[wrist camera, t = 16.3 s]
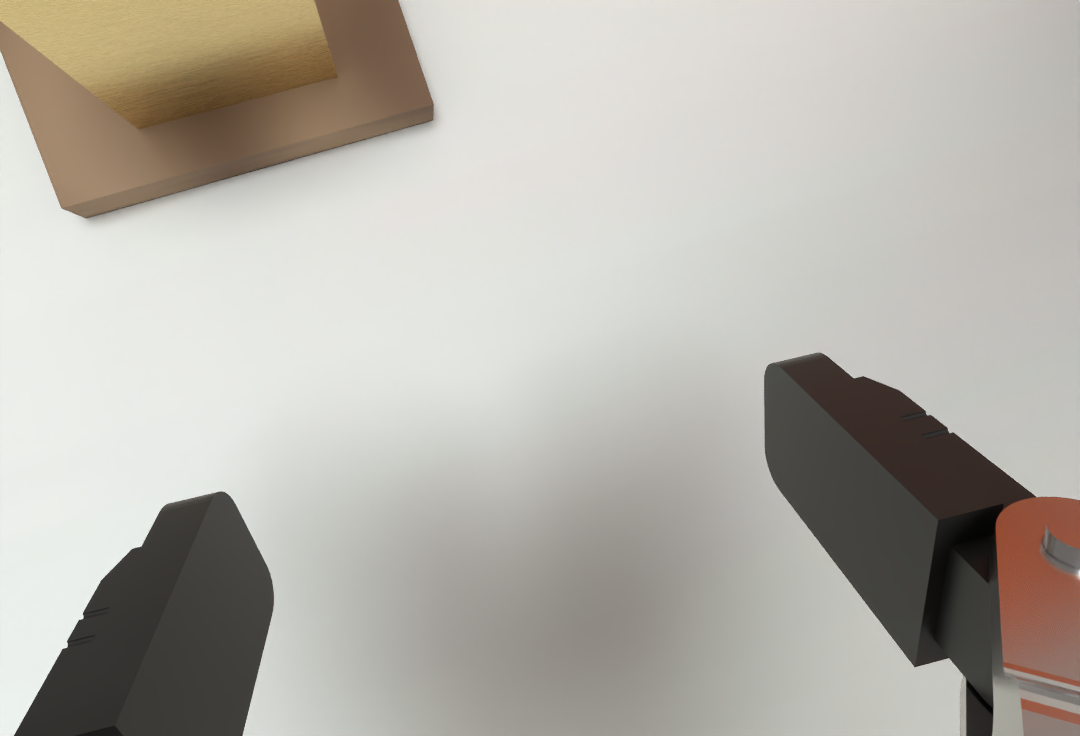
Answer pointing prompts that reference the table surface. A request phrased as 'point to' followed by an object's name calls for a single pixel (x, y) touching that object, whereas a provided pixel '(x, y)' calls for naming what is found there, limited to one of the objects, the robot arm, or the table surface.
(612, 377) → the table surface
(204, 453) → the table surface
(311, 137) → the post base
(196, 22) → the sleeve
